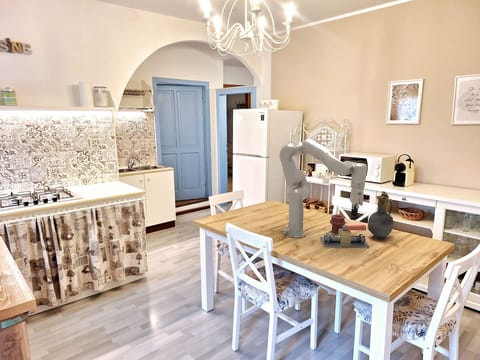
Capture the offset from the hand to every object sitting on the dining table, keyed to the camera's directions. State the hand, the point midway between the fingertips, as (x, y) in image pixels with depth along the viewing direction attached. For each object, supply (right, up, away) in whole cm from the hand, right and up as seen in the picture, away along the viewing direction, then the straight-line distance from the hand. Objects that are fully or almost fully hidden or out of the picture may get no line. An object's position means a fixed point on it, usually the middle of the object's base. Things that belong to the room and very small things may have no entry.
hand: (354, 215), depth 186 cm
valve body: (-3, -18, +9) cm, 20 cm away
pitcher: (+24, -16, +19) cm, 34 cm away
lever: (+3, -10, +8) cm, 13 cm away
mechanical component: (-2, -15, +27) cm, 31 cm away
